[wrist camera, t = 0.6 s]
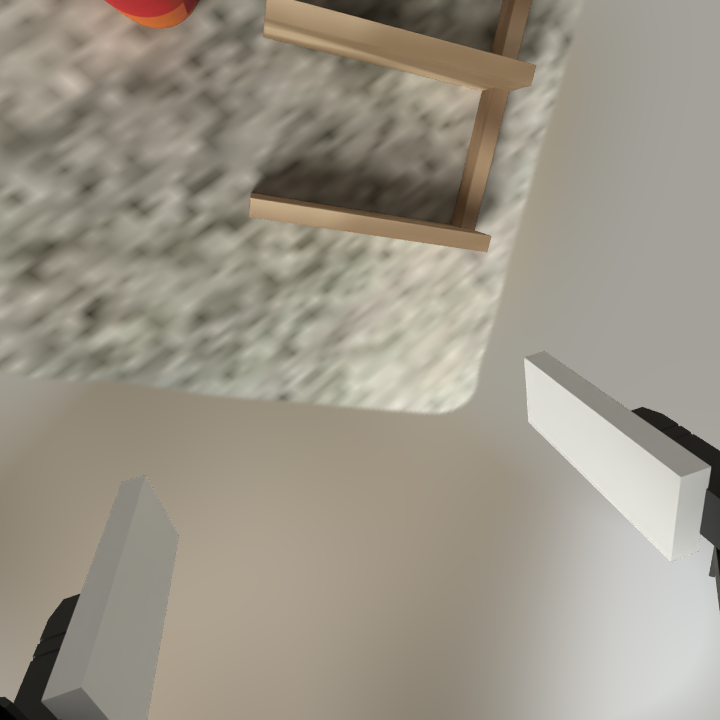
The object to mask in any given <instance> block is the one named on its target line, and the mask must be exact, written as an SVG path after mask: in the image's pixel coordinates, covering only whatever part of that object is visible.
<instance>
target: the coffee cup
mask: <svg viewBox="0 0 720 720" xmlns="http://www.w3.org/2000/svg"><path fill="white" fill-rule="evenodd" d="M105 1H106V2H108V3H109V4H110V5H112V6H113V7H114V8H116V9H117V10H118V11H120V12H121V13H122V14H124V15H125V16H127V17H128V18H130V19H131V20H133V21H135V22H137V23H139V24H141V25H144V26H147V27H151V28H169V27H173V26H175V25H177V24H179V23H181V22H182V21H184V20H185V19H186V18H187V17H188V16H189V15H190V13H191V12H192V11H193V9H194V7H195V5H196V3H197V0H105Z"/></svg>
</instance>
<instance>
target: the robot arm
mask: <svg viewBox="0 0 720 720" xmlns="http://www.w3.org/2000/svg"><path fill="white" fill-rule="evenodd" d="M524 360H525V376H526V391H527V406H528V421H529V423H530V424H531V425H532V426H533V427H534V428H535V429H536V430H537V431H538V432H539V433H540V434H541V435H542V436H544V437H545V439H547V440H548V441H549V442H550V443H551V444H552V445H553V446H554V447H555V448H556V449H557V450H558V451H559V452H560V453H561V454H562V455H563V456H564V457H565V458H566V459H567V460H568V461H569V462H570V463H571V464H572V465H573V466H574V467H575V468H576V469H577V470H578V471H579V472H580V473H581V474H582V475H583V476H584V477H585V478H586V479H587V480H588V481H589V482H590V483H591V484H592V485H593V486H594V487H595V488H596V489H597V490H598V491H600V492H601V494H602V495H604V497H605V498H607V499H608V500H609V501H610V502H611V503H612V504H613V505H614V506H615V507H616V508H617V509H618V510H619V511H620V512H621V513H622V514H623V515H624V516H625V517H626V518H627V519H628V520H629V521H630V522H631V523H632V524H633V525H634V526H635V527H636V528H637V529H638V530H639V531H640V532H641V533H642V534H643V535H644V536H645V537H646V538H647V539H648V540H649V541H650V542H651V543H652V544H653V545H654V546H655V547H656V548H657V549H658V550H659V551H660V552H661V553H662V554H663V555H665V556H666V557H667V558H668V559H669V560H670V561H674V560H677V559H679V558H682V557H685V556H688V555H690V554H693V553H696V552H698V549H699V543H700V536H701V535H703V536H704V537H705V538H706V539H707V540H708V541H710V542H711V543H712V544H713V545H714V550H713V556H712V562H711V567H710V573H709V576H711V577H716V585H717V593H718V601H719V609H720V451H719V450H718V449H716V448H714V447H713V446H711V445H710V444H708V443H707V442H705V441H704V440H702V439H700V438H699V437H697V436H696V435H694V434H693V435H692V434H691V432H690V431H688V430H687V429H685V428H684V427H682V426H678V424H677V423H676V422H674V421H673V420H671V419H670V418H668V417H666V416H665V415H663V414H661V413H658V412H655V411H652V410H650V409H647V408H644V407H641V408H638V409H635V410H632V411H630V410H629V409H627V408H626V407H624V406H623V405H622V404H620V403H619V402H617V401H616V400H614V399H613V398H611V397H610V396H609V395H607V394H606V393H604V392H603V391H601V390H600V389H598V388H597V387H596V386H594V385H593V384H591V383H590V382H588V381H587V380H585V379H584V378H583V377H581V376H580V375H578V374H577V373H575V372H574V371H573V370H571V369H569V368H568V367H567V366H565V365H564V364H562V363H561V362H560V361H558V360H557V359H555V358H554V357H552V356H551V355H549V354H548V353H546V352H545V351H543V352H540V353H537V354H534V355H530V356H527V357H525V358H524ZM178 538H179V535H178V533H177V531H176V529H175V527H174V525H173V524H172V522H171V520H170V518H169V516H168V515H167V513H166V511H165V509H164V507H163V505H162V503H161V502H160V500H159V498H158V496H157V494H156V493H155V491H154V489H153V487H152V485H151V483H150V482H149V480H148V478H147V476H146V475H143V476H140V477H136V478H133V479H130V480H127V481H123V482H121V485H120V488H119V491H118V493H117V496H116V499H115V501H114V504H113V507H112V510H111V512H110V515H109V518H108V520H107V523H106V526H105V529H104V531H103V534H102V537H101V539H100V542H99V545H98V548H97V551H96V553H95V556H94V558H93V561H92V564H91V567H90V569H89V572H88V575H87V578H86V580H85V583H84V586H83V588H82V591H81V594H78V595H75V596H72V597H69V598H66V599H64V600H63V601H62V602H61V604H60V605H59V606H58V607H57V609H56V610H55V612H54V613H53V614H52V615H51V617H50V618H49V620H48V621H47V624H46V626H45V629H44V631H43V634H42V636H41V638H40V644H38V646H37V648H36V650H35V653H34V655H33V661H31V662H30V665H29V667H28V670H27V672H26V674H25V677H24V679H23V682H22V684H21V686H20V689H19V691H18V694H17V696H16V698H15V701H14V703H12V702H11V701H10V700H8V699H7V698H6V697H0V720H148V714H149V708H150V702H151V696H152V690H153V684H154V678H155V673H156V667H157V661H158V655H159V649H160V643H161V638H162V632H163V626H164V620H165V614H166V608H167V603H168V596H169V591H170V585H171V579H172V573H173V567H174V561H175V555H176V550H177V544H178Z"/></svg>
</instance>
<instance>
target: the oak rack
mask: <svg viewBox="0 0 720 720" xmlns="http://www.w3.org/2000/svg"><path fill="white" fill-rule="evenodd" d="M531 1H532V0H503V3H502V8H501V12H500V16H499V21H498V25H497V29H496V34H495V38H494V42H493V47H492V51H491V53H489V52H485V51H482V50H478V49H474V48H470V47H467V46H463V45H459V44H455V43H452V42H448V41H444V40H441V39H437V38H433V37H429V36H426V35H422V34H418V33H415V32H411V31H407V30H403V29H400V28H396V27H392V26H388V25H385V24H381V23H377V22H374V21H370V20H366V19H362V18H359V17H355V16H351V15H348V14H344V13H340V12H336V11H333V10H329V9H325V8H321V7H318V6H314V5H310V4H307V3H303V2H299V1H295V0H266V10H265V21H264V34H263V37H265V38H269V39H273V40H277V41H281V42H285V43H289V44H293V45H297V46H302V47H306V48H310V49H314V50H318V51H322V52H326V53H330V54H334V55H338V56H342V57H347V58H351V59H355V60H359V61H363V62H367V63H371V64H375V65H379V66H383V67H387V68H391V69H396V70H400V71H404V72H408V73H412V74H416V75H420V76H424V77H428V78H432V79H436V80H441V81H445V82H449V83H453V84H457V85H461V86H465V87H469V88H473V89H477V90H481V91H482V94H481V99H480V103H479V107H478V112H477V116H476V120H475V125H474V129H473V133H472V138H471V142H470V146H469V151H468V155H467V159H466V164H465V168H464V172H463V176H462V181H461V185H460V189H459V194H458V198H457V202H456V207H455V211H454V215H453V220H452V224H451V225H449V224H443V223H436V222H430V221H424V220H418V219H412V218H405V217H399V216H393V215H387V214H381V213H374V212H368V211H362V210H356V209H350V208H343V207H337V206H331V205H325V204H319V203H312V202H306V201H300V200H294V199H288V198H282V197H275V196H269V195H263V194H257V193H251V197H250V210H249V217H253V218H260V219H267V220H274V221H280V222H287V223H294V224H301V225H307V226H314V227H321V228H328V229H334V230H341V231H348V232H355V233H361V234H368V235H375V236H381V237H388V238H395V239H402V240H408V241H415V242H422V243H429V244H435V245H442V246H449V247H456V248H462V249H469V250H476V251H483V252H487V251H488V247H489V243H490V239H491V236H489V235H486V234H484V233H481V232H478V231H475V226H476V222H477V218H478V214H479V210H480V206H481V202H482V198H483V194H484V190H485V186H486V182H487V178H488V174H489V170H490V166H491V162H492V158H493V154H494V150H495V146H496V142H497V138H498V134H499V130H500V126H501V122H502V118H503V114H504V110H505V106H506V102H507V98H508V94H509V91H511V90H515V89H519V88H523V87H527V86H531V84H532V80H533V76H534V72H535V68H536V65H534V64H530V63H526V62H522V61H519V60H517V57H518V53H519V49H520V45H521V41H522V37H523V33H524V29H525V25H526V21H527V17H528V13H529V9H530V5H531Z"/></svg>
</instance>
